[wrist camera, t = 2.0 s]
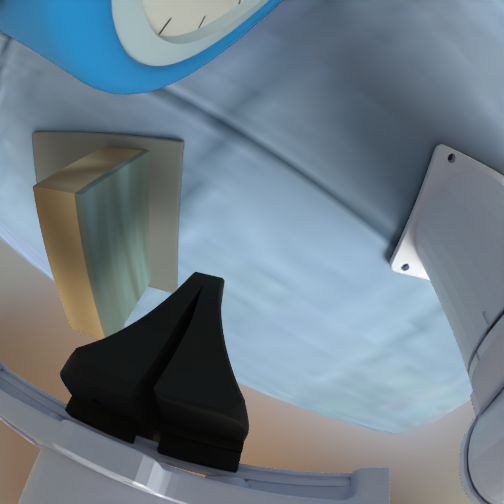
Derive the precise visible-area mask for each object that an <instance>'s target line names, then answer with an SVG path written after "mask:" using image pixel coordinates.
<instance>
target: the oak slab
mask: <svg viewBox="0 0 504 504" xmlns="http://www.w3.org/2000/svg"><path fill="white" fill-rule="evenodd" d="M149 158H150V151H144V150H135V149H126V148H116V147H103V148H101V149H99V150H97V151H95V152H93V153H91V154H89V155H87V156H85V157H83V158H81V159H79V160H78V161H76V162H74V163H72V164H70V165H68V166H67V167H65V168H63V169H61V170H59V171H58V172H56V173H54V174H52V175H51V176H49V177H47V178H46V179H44V180H42V181H41V182H39V183H37V184H36V185H34V186H33V190H34V196H35V202H36V208H37V213H38V218H39V223H40V228H41V232H42V237H43V241H44V245H45V249H46V253H47V256H48V260H49V264H50V267H51V271H52V274H53V277H54V281H55V284H56V286H57V290H58V293H59V296H60V299H61V302H62V304H63V307H64V310H65V313H66V316H67V318H68V321H69V323H70V326H71V328H72V329H74V330H77V331H79V332H82V333H84V334H86V335H89V336H91V337H93V338H96V339H99V340H101V339H103V338H105V337H108V336H110V335H112V334H114V333H116V332H118V331H120V330H121V329H122V327H123V326H124V324H125V322H126V321H127V319H128V317H129V316H130V314H131V312H132V311H133V309H134V307H135V306H136V304H137V302H138V301H139V299H140V297H141V296H142V294H143V293H144V291H145V289H146V288H147V286H148V285H149V283H150V282H151V264H150V242H149Z"/></svg>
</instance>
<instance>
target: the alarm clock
mask: <svg viewBox="0 0 504 504" xmlns="http://www.w3.org/2000/svg"><path fill="white" fill-rule="evenodd" d="M281 1H282V0H0V31H2V32H4V33H5V34H7V35H9V36H10V37H12V38H14V39H15V40H17V41H19V42H20V43H22V44H24V45H25V46H27V47H28V48H30V49H32V50H33V51H35V52H37V53H38V54H40V55H41V56H43V57H44V58H46V59H48V60H49V61H51V62H52V63H54V64H55V65H57V66H59V67H60V68H62V69H63V70H65V71H66V72H68V73H69V74H71V75H72V76H74V77H75V78H77V79H78V80H80V81H82V82H83V83H85V84H87V85H89V86H91V87H93V88H96V89H98V90H101V91H104V92H108V93H112V94H124V95H127V94H138V93H145V92H150V91H154V90H157V89H159V88H162V87H165V86H167V85H169V84H171V83H174V82H176V81H178V80H180V79H182V78H184V77H186V76H188V75H189V74H191V73H193V72H194V71H196V70H198V69H199V68H201V67H202V66H204V65H205V64H207V63H208V62H209V61H211V60H212V59H214V58H215V57H216V56H218V55H219V54H220V53H222V52H223V51H224V50H226V49H227V48H228V47H229V46H231V45H232V44H233V43H234V42H236V41H237V40H238V39H239V38H241V37H242V36H243V35H244V34H245V33H246V32H248V31H249V30H250V29H251V28H252V27H253V26H255V25H256V24H257V23H258V22H259V21H260V20H261V19H263V18H264V17H265V16H266V15H267V14H268V13H269V12H270V11H271V10H273V9H274V8H275V7H276V6H277V5H278V4H279V3H280V2H281Z"/></svg>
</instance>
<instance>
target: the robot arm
mask: <svg viewBox="0 0 504 504" xmlns="http://www.w3.org/2000/svg"><path fill="white" fill-rule="evenodd" d="M449 154H452V155H453V157H452V159H451V160H450V161H448V156H449ZM389 264H390V268H391V269H392V271H394V272H398V273H402V274H406V275H410V276H415V277H419V278H423V279H427V280H430V281H431V283H432V285H433V287H434V290H435V292H436V294H437V296H438V298H439V300H440V303H441V305H442V307H443V309H444V312H445V314H446V316H447V319H448V321H449V324H450V326H451V329H452V331H453V334H454V336H455V339H456V341H457V344H458V347H459V349H460V352H461V355H462V358H463V360H464V363H465V366H466V369H467V372H468V375H469V378H470V382H471V385H472V389H473V392H472V394H471V395H470V397H471V401H472V405H473V408H474V412H475V417H474V419H473V420H472V422H471V423H470V425H469V427H468V429H467V431H466V433H465V435H464V438H463V441H462V444H461V449H460V454H459V475H460V479H461V484H462V486H463V489H464V491H465V494H466V495H467V496H468V498H469V499H470V501H471V502H472V503H473V504H504V175H502V174H500V173H498V172H497V171H495V170H493V169H491V168H490V167H488V166H486V165H484V164H482V163H480V162H479V161H477V160H475V159H473V158H471V157H469V156H467V155H465V154H463V153H461V152H459V151H457V150H455V149H453V148H450V147H448V146H446V145H443V144H440V145H438V146H437V147H436V148H435V150H434V153H433V156H432V159H431V162H430V165H429V168H428V170H427V173H426V176H425V179H424V182H423V184H422V187H421V190H420V192H419V195H418V197H417V200H416V202H415V205H414V207H413V210H412V212H411V215H410V217H409V220H408V222H407V224H406V227H405V229H404V231H403V233H402V236H401V238H400V240H399V242H398V245H397V247H396V249H395V251H394V253H393V255H392V257H391V260H390V263H389ZM404 264H407V265H406V266H405V267H402V265H404ZM223 288H224V279H223V278H220V277H215V276H211V275H207V274H203V273H198V272H195V273H193V274H192V275H191V276H190V277H189V278H188V279H187V280H186V281H185V282H184V283H183V284H182V285H181V286H180V287H179V288H178V289H177V290H176V291H175V292H174V293H173V294H172V295H170V296H169V297H168V298H167V299H166V300H165V301H163V302H162V303H161V304H160V305H158V306H157V307H156V308H155V309H153V310H152V311H151V312H149V313H148V314H147V315H145V316H144V317H142V318H141V319H139V320H138V321H136V322H134V323H133V324H131V325H129V326H127V327H126V328H124V329H122V330H120V331H118V332H116V333H114V334H112V335H110V336H108V337H105V338H103V339H101V340H99V341H96V342H93V343H90V344H87V345H85V346H81V347H78V348H76V350H75V351H74V352H73V353H72V354H71V356H70V357H69V359H68V360H67V362H66V364H65V365H64V367H63V369H62V370H61V372H60V376H61V379H62V381H63V383H64V384H65V386H66V387H67V389H68V390H69V392H70V393H71V395H72V397H71V399H70V401H69V403H68V404H65V403H63V402H62V401H60V400H58V399H56V398H54V397H52V396H51V395H49V394H47V393H45V392H44V391H42V390H40V389H39V388H37V387H35V386H34V385H32V384H31V383H29V382H27V381H25V380H24V379H23V378H21V377H20V376H18V375H17V374H15V373H14V372H12V371H11V370H9V369H8V368H6V367H5V366H4V365H3V363H2V362H1V361H0V420H1V421H3V422H4V423H5V424H7V425H8V426H9V427H10V428H12V429H13V430H14V431H16V432H17V433H18V434H20V435H21V436H23V437H24V438H25V439H27V440H28V441H30V442H31V443H32V444H34V445H35V446H37V447H38V448H40V449H41V450H40V452H39V455H38V457H37V459H36V461H35V463H34V466H33V468H32V470H31V473H30V475H29V477H28V480H27V482H26V485H25V487H24V490H23V492H22V495H21V497H20V500H19V503H18V504H390V478H389V467H369V468H360V469H357V470H355V471H353V472H352V473H319V472H303V471H291V470H281V469H273V468H265V467H258V466H252V465H246V464H240V463H239V461H240V456H241V452H242V449H243V444H244V440H245V439H246V437H247V435H248V430H249V422H248V416H247V410H246V405H245V400H244V398H243V396H242V393H241V391H240V389H239V387H238V384H237V381H236V379H235V376H234V373H233V370H232V367H231V364H230V361H229V357H228V354H227V350H226V345H225V340H224V335H223V328H222V319H221V303H222V296H223ZM163 463H164V464H163ZM166 464H167V465H166ZM169 465H170V466H169ZM171 466H174V467H178V468H181V469H184V470H188V471H192V472H196V473H200V474H204V475H206V476H205V477H201V476H198V475H195V474H192V473H189V472H186V471H183V470H180V469H177V468H174V467H171Z"/></svg>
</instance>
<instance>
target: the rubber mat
mask: <svg viewBox="0 0 504 504" xmlns="http://www.w3.org/2000/svg"><path fill="white" fill-rule="evenodd" d="M32 141H33V154H34V164H35V173H36V181H37V183H39V182H41V181H42V180H44V179H46V178H47V177H49V176H51V175H52V174H54V173H56V172H58V171H59V170H61V169H63V168H65V167H67V166H68V165H70V164H72V163H74V162H76V161H78V160H79V159H81V158H83V157H85V156H87V155H89V154H91V153H93V152H95V151H97V150H99V149H101V148H103V147H116V148H126V149H135V150H144V151H150V158H149V242H150V264H151V282H150V283H149V285H148V286H149V287H152V288H156V289H159V290H163V291H167V292H171V293H174V292H175V291H176V290H177V275H178V229H179V206H180V188H181V173H182V160H183V148H184V141H181V140H173V139H164V138H156V137H146V136H135V135H123V134H109V133H92V132H59V131H36V132H33V133H32Z"/></svg>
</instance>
